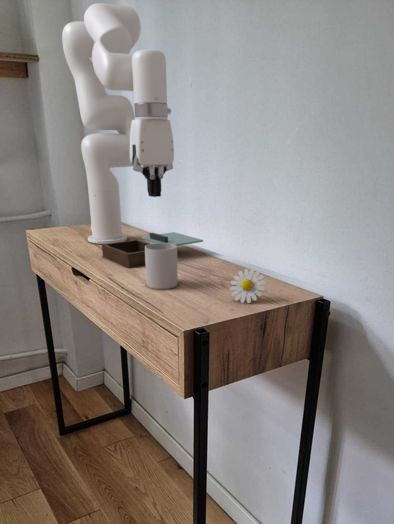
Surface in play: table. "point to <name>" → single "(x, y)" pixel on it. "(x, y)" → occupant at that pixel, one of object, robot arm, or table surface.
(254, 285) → the decorative flower
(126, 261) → the case
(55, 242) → the table surface
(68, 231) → the table surface
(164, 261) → the cup
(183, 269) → the table surface
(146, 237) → the glass top
